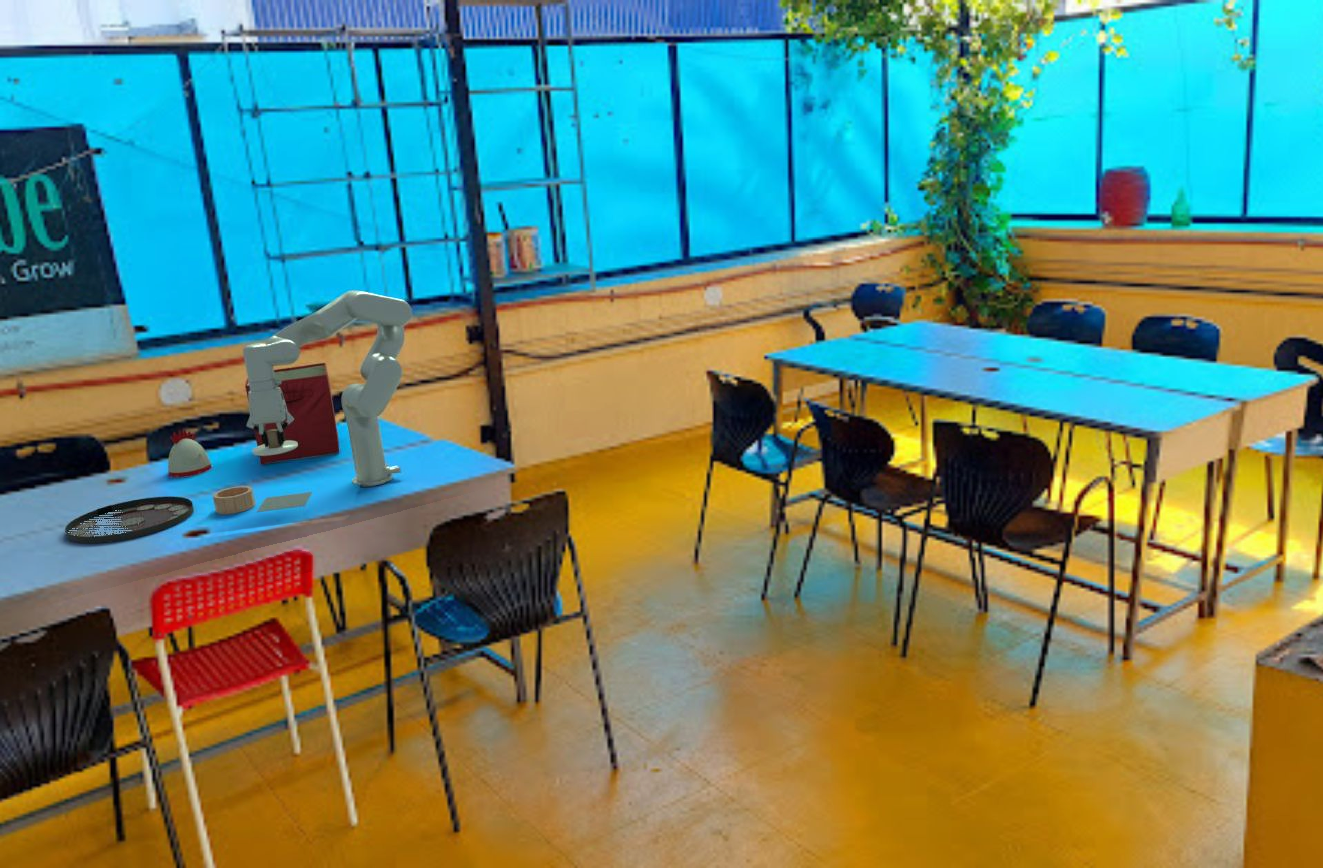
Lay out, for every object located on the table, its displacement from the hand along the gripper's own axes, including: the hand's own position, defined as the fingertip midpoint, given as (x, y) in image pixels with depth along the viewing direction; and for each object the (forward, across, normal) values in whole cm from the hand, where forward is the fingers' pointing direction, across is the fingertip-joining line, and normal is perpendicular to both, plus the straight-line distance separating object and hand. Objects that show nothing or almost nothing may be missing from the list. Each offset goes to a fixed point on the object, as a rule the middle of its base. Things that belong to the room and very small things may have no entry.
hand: (274, 444), depth 329 cm
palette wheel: (+19, +46, -2) cm, 50 cm away
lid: (+1, 0, 0) cm, 1 cm away
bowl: (+19, +15, 0) cm, 24 cm away
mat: (+19, 0, 0) cm, 19 cm away
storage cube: (+19, +7, -65) cm, 68 cm away
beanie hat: (+19, +43, -56) cm, 73 cm away
